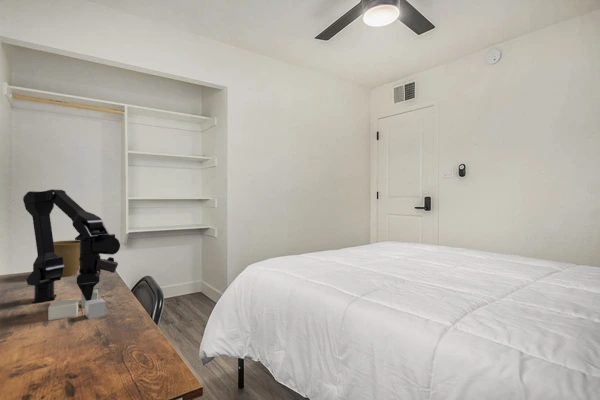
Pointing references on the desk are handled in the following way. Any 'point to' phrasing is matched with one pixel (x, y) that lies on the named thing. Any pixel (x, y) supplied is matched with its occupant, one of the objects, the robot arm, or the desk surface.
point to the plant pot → (68, 255)
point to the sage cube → (94, 296)
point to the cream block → (63, 309)
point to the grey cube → (94, 308)
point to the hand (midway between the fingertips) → (89, 298)
